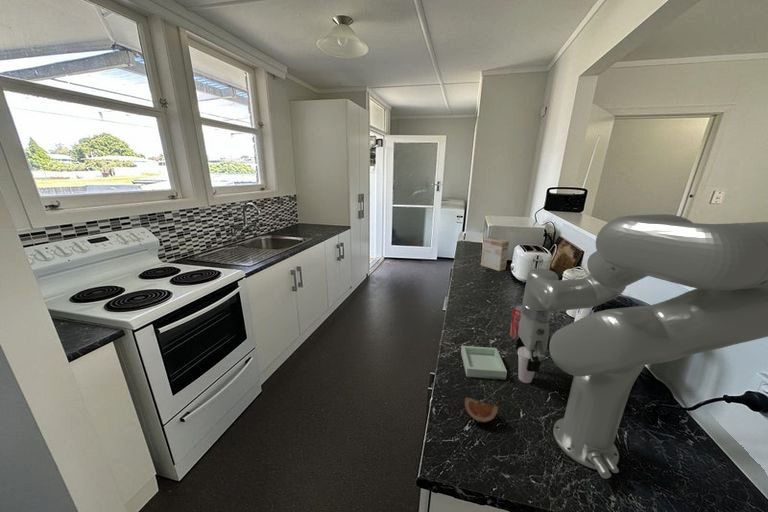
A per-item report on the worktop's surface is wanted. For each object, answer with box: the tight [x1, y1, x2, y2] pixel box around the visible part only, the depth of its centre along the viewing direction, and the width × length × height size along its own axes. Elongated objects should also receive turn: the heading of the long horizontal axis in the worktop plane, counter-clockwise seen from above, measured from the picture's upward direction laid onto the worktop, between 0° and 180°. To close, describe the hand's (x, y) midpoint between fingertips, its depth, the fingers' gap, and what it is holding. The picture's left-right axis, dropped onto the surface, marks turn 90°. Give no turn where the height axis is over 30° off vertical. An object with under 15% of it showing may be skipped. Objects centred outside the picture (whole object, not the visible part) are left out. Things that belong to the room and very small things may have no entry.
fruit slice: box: [463, 396, 499, 423], centre depth 72 cm, size 8×7×5 cm
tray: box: [460, 345, 508, 380], centre depth 92 cm, size 12×12×3 cm
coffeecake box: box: [480, 236, 510, 272], centre depth 184 cm, size 15×7×20 cm, turn 32°
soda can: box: [509, 303, 522, 342], centre depth 105 cm, size 7×7×13 cm
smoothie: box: [516, 347, 538, 384], centre depth 84 cm, size 6×6×14 cm
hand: (526, 359), depth 85 cm, fingers open, 9 cm apart
